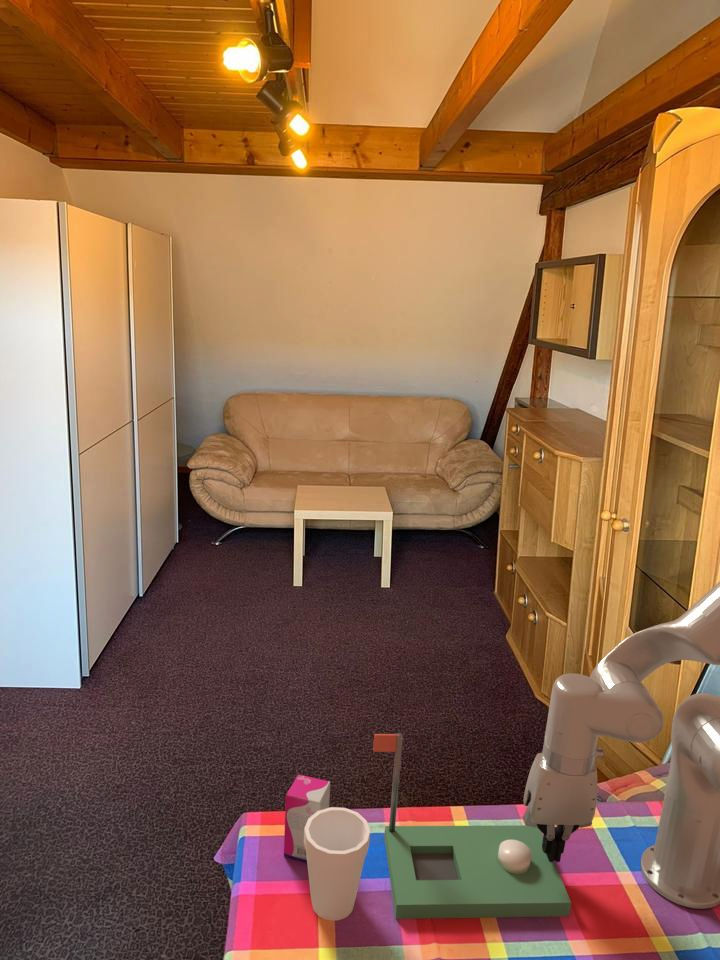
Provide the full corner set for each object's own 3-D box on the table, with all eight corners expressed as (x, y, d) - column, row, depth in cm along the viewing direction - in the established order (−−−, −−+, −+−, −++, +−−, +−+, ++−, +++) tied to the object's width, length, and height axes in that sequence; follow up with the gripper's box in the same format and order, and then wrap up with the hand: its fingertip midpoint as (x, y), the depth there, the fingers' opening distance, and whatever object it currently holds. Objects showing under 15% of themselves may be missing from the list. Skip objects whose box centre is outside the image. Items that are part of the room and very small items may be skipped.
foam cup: (356, 936, 106) (362, 860, 102) (293, 922, 108) (297, 846, 104) (369, 885, 115) (375, 813, 111) (311, 872, 117) (314, 802, 113)
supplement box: (328, 840, 124) (331, 780, 120) (316, 866, 118) (320, 804, 115) (295, 831, 125) (297, 772, 122) (282, 856, 119) (284, 795, 116)
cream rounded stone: (523, 849, 121) (524, 838, 120) (534, 873, 116) (536, 862, 115) (493, 850, 120) (494, 840, 119) (503, 874, 115) (505, 864, 115)
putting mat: (536, 837, 127) (552, 732, 121) (569, 916, 111) (588, 799, 106) (366, 838, 124) (373, 730, 119) (375, 919, 109) (384, 799, 103)
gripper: (606, 740, 117) (588, 838, 122) (513, 739, 116) (499, 837, 121) (626, 771, 110) (606, 874, 115) (527, 770, 109) (511, 873, 114)
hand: (551, 855), depth 118 cm, fingers closed
